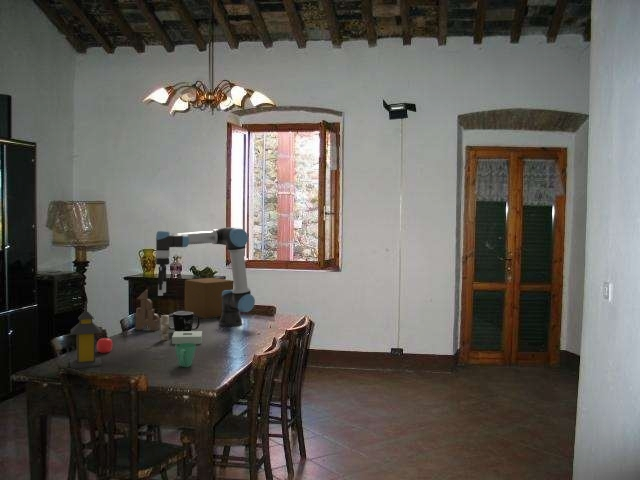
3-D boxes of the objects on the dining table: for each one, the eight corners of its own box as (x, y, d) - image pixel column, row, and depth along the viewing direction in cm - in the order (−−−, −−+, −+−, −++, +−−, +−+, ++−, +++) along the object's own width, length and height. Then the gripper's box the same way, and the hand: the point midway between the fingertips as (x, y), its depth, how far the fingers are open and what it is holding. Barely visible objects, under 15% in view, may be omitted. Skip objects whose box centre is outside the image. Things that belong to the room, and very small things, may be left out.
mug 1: (177, 336, 358) (177, 316, 357) (164, 331, 370) (164, 312, 369) (201, 333, 369) (201, 313, 368) (188, 328, 381) (188, 310, 380)
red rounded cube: (96, 350, 317) (96, 335, 317) (112, 349, 320) (112, 334, 320) (96, 354, 310) (96, 338, 309) (113, 353, 313) (113, 337, 313)
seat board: (202, 337, 354) (202, 331, 354) (201, 343, 339) (201, 336, 338) (174, 338, 352) (174, 331, 352) (171, 344, 336) (172, 337, 336)
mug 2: (177, 363, 294) (177, 342, 294) (197, 363, 295) (197, 343, 294) (170, 370, 280) (170, 349, 279) (192, 371, 280) (192, 349, 280)
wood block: (184, 314, 435) (184, 279, 434) (212, 310, 453) (212, 277, 452) (205, 318, 418) (205, 282, 417) (233, 314, 436) (233, 280, 435)
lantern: (70, 368, 280) (70, 304, 279) (69, 361, 293) (69, 300, 292) (102, 366, 286) (102, 303, 285) (100, 359, 299) (100, 299, 298)
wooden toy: (160, 328, 379) (160, 289, 378) (156, 330, 373) (156, 290, 372) (137, 327, 382) (137, 288, 381) (132, 329, 375) (132, 289, 374)
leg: (169, 339, 350) (169, 315, 349) (168, 340, 345) (168, 316, 345) (161, 339, 349) (161, 315, 348) (160, 340, 345) (160, 316, 344)
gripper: (158, 256, 362) (158, 291, 363) (152, 259, 337) (152, 296, 338) (171, 256, 363) (171, 291, 364) (166, 259, 338) (166, 296, 339)
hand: (162, 294), depth 351 cm, fingers open, 13 cm apart
